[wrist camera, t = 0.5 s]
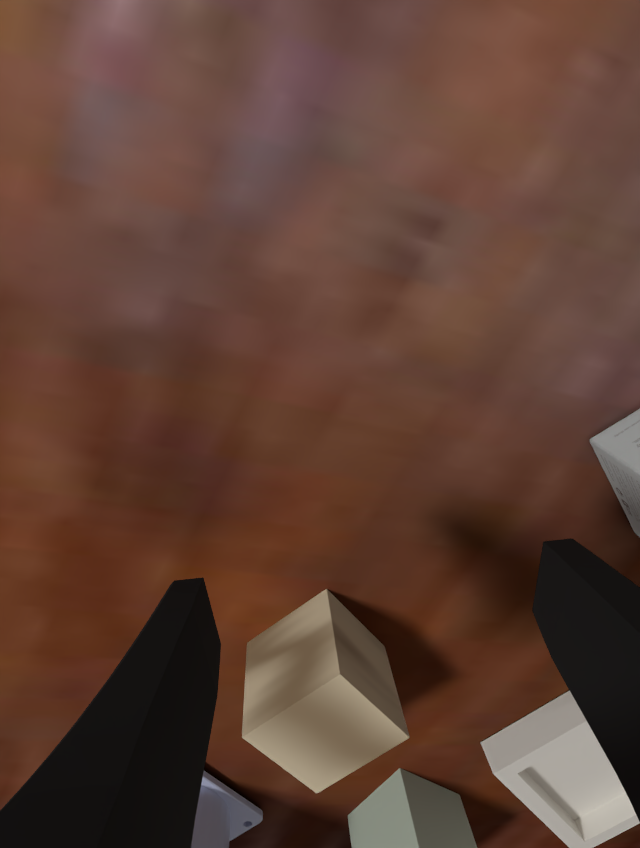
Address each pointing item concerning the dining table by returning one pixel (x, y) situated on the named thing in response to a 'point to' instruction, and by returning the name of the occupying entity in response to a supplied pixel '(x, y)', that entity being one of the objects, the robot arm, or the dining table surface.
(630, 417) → the small box
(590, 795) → the tray
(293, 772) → the maple cube
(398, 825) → the sage cube
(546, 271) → the dining table surface
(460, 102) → the dining table surface
